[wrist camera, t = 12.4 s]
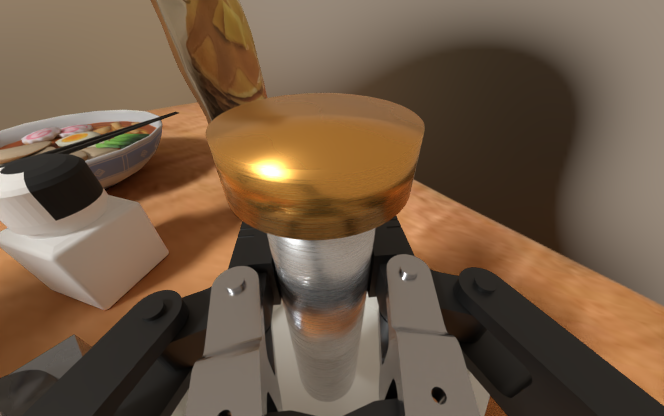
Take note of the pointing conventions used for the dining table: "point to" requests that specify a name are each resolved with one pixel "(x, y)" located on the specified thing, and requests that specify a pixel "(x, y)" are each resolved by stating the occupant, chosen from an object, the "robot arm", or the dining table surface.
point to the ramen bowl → (90, 141)
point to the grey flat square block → (38, 376)
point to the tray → (365, 378)
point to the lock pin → (319, 209)
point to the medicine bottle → (75, 229)
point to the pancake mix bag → (213, 52)
